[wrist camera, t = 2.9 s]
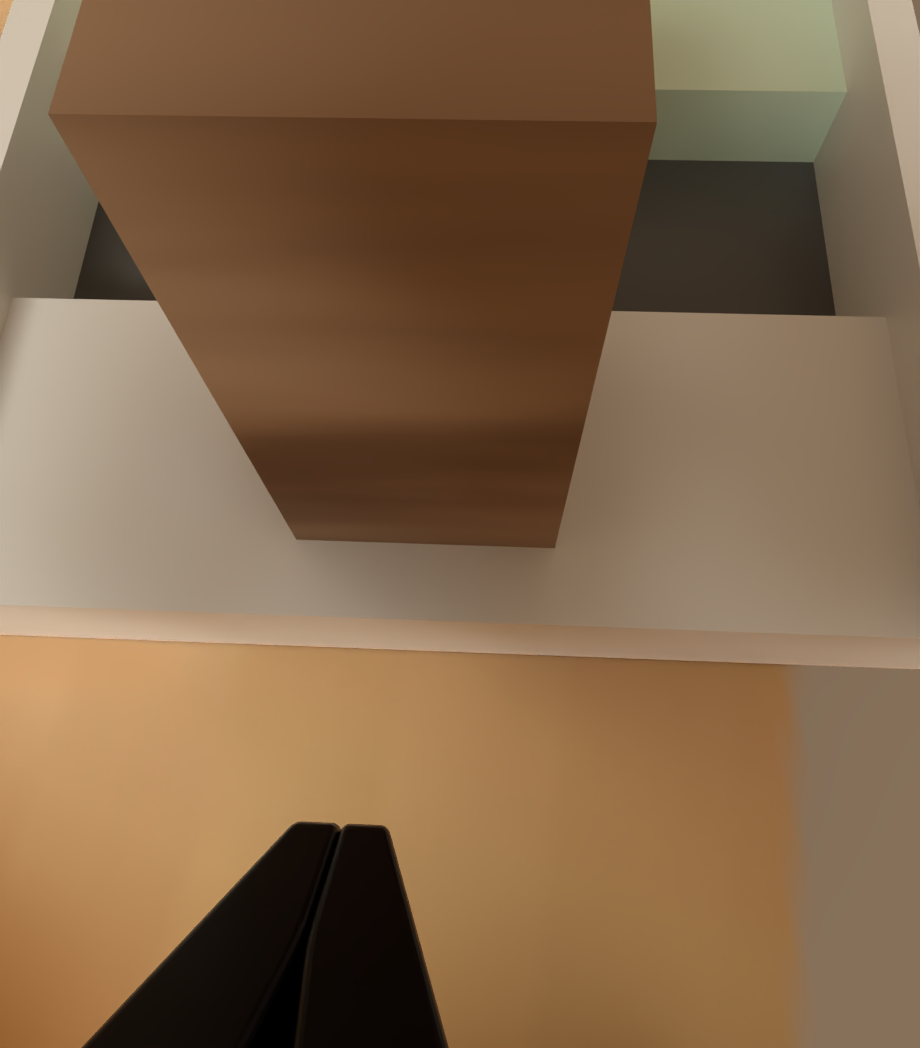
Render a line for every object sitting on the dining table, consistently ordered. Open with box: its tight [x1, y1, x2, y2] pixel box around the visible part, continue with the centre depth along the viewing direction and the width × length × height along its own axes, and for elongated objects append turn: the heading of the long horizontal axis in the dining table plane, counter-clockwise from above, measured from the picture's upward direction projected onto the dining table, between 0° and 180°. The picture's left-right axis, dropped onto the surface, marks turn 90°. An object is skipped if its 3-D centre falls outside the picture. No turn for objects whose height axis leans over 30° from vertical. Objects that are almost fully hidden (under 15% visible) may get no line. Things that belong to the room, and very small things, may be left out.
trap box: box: [0, 0, 920, 669], centre depth 20 cm, size 21×21×4 cm
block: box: [48, 0, 657, 548], centre depth 12 cm, size 5×5×10 cm
